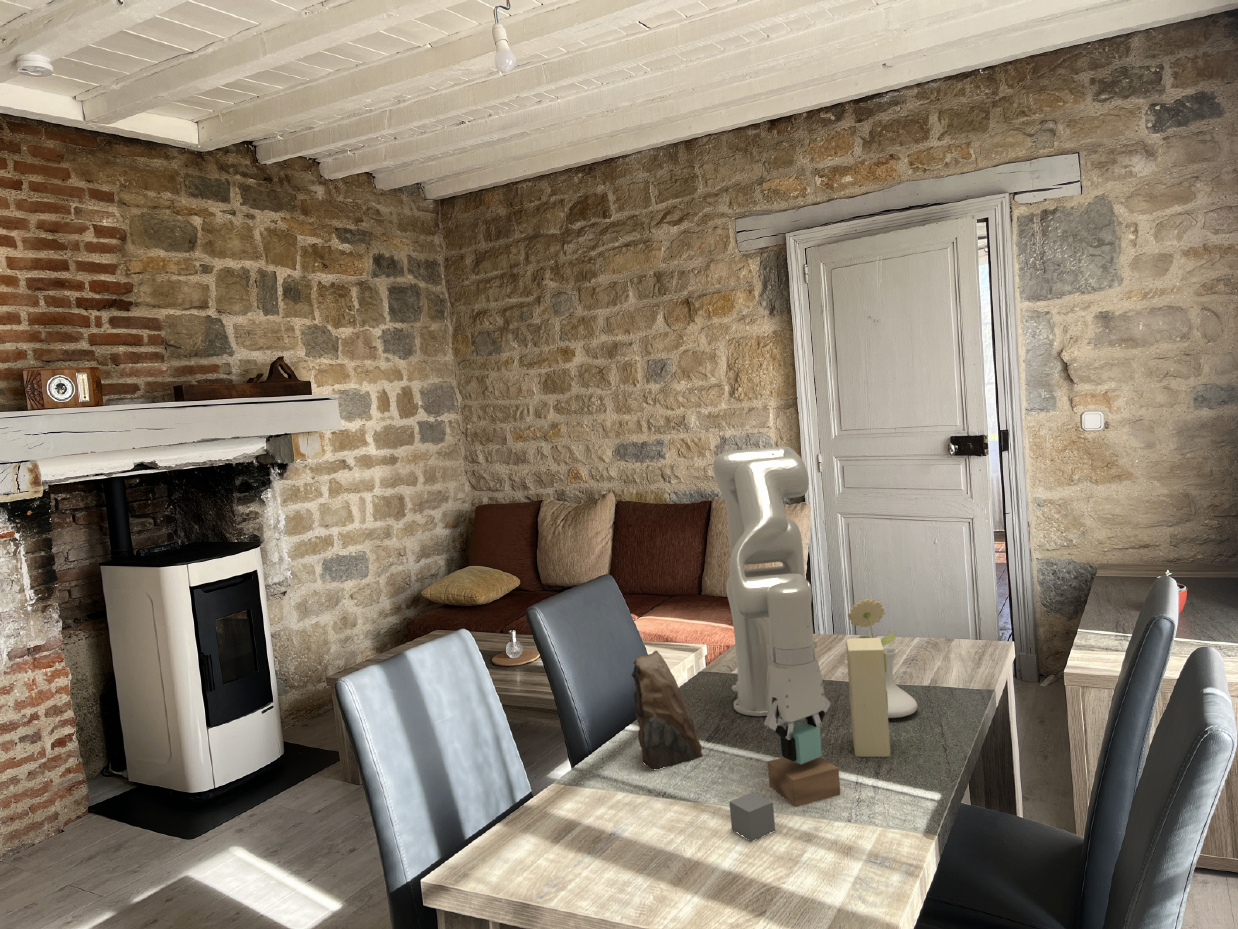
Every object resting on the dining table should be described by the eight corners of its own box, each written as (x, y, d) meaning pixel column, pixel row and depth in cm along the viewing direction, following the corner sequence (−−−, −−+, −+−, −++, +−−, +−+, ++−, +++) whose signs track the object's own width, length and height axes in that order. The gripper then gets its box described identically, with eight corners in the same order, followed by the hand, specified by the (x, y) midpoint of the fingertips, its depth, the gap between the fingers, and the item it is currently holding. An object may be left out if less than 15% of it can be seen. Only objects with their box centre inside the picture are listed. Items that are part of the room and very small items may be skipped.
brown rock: (649, 774, 169) (639, 672, 168) (620, 753, 180) (611, 658, 179) (705, 757, 174) (696, 659, 173) (674, 737, 186) (665, 645, 184)
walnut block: (769, 788, 159) (767, 761, 158) (812, 777, 162) (810, 750, 161) (795, 808, 150) (793, 780, 150) (840, 796, 153) (838, 768, 153)
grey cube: (731, 831, 144) (729, 801, 144) (755, 821, 147) (752, 792, 146) (751, 842, 140) (748, 812, 140) (775, 832, 142) (772, 802, 142)
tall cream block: (895, 757, 166) (887, 648, 164) (855, 757, 167) (847, 650, 166) (891, 740, 174) (883, 636, 172) (852, 741, 175) (844, 638, 174)
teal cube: (781, 755, 156) (779, 728, 156) (802, 748, 159) (800, 721, 159) (800, 764, 152) (798, 736, 152) (822, 756, 155) (819, 728, 154)
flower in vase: (918, 704, 191) (910, 591, 190) (918, 724, 181) (909, 605, 179) (856, 703, 196) (848, 593, 194) (853, 722, 185) (844, 605, 183)
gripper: (813, 639, 162) (821, 735, 163) (741, 660, 153) (750, 761, 154) (843, 647, 155) (851, 746, 157) (770, 670, 147) (779, 775, 148)
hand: (801, 753), depth 155 cm, fingers closed on teal cube, 5 cm apart
